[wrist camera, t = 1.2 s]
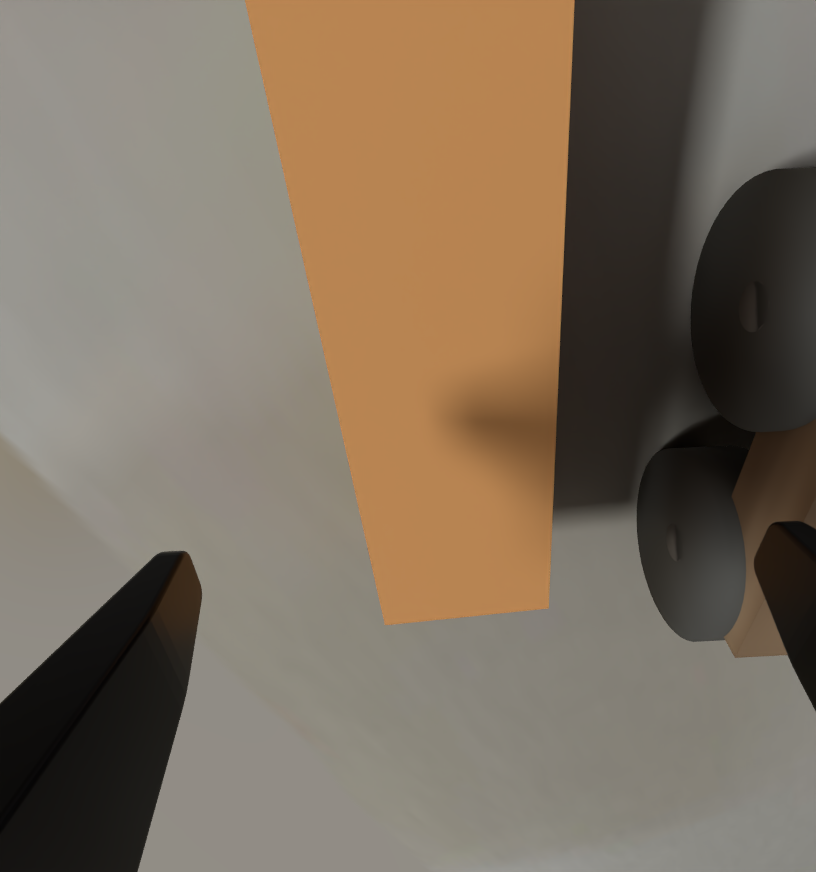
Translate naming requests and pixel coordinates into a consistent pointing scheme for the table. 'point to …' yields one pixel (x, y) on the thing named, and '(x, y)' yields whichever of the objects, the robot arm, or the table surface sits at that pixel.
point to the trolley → (741, 419)
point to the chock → (434, 274)
